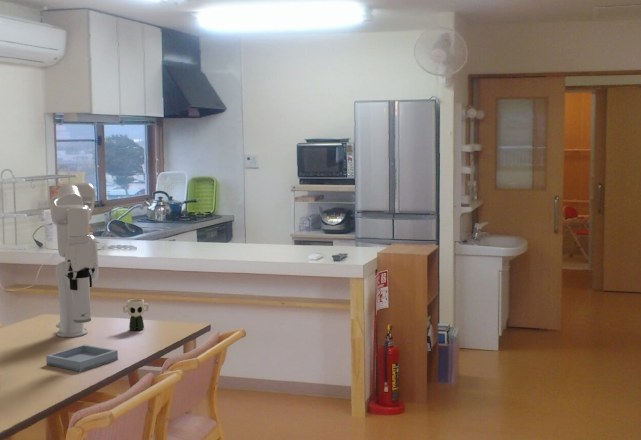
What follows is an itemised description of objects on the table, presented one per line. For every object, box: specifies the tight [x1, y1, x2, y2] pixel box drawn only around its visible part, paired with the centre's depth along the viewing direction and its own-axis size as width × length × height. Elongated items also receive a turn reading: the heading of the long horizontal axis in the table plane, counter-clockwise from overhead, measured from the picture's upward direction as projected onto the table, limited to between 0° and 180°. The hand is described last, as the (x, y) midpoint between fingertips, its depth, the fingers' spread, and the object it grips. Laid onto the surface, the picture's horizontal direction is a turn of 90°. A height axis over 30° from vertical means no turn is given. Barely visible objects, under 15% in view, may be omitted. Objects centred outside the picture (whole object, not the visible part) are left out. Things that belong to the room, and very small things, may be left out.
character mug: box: [122, 298, 150, 331], centre depth 336 cm, size 11×7×13 cm, turn 106°
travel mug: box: [72, 268, 92, 324], centre depth 286 cm, size 6×7×20 cm
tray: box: [45, 343, 119, 373], centre depth 287 cm, size 18×18×4 cm
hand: (81, 287), depth 286 cm, fingers closed on travel mug, 6 cm apart
